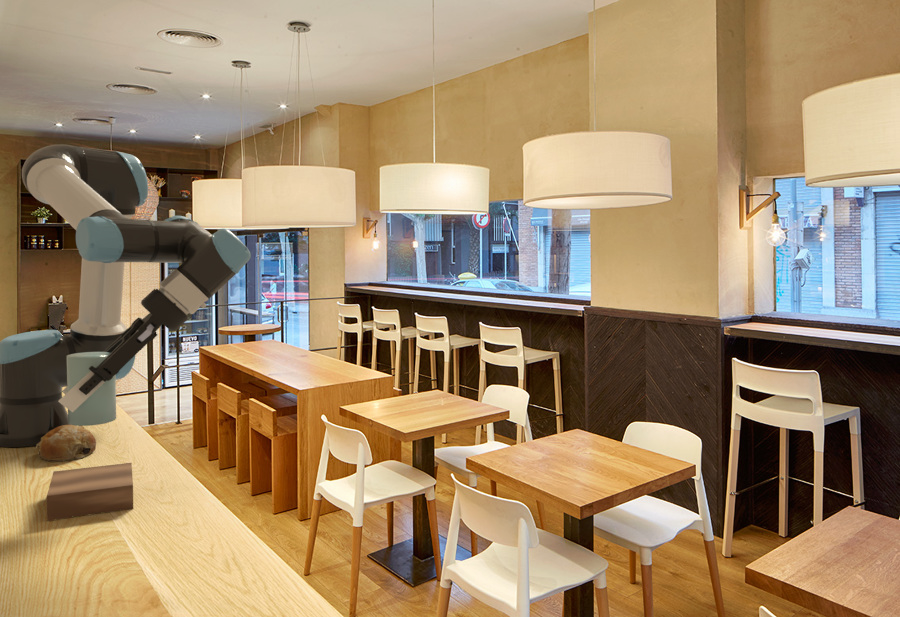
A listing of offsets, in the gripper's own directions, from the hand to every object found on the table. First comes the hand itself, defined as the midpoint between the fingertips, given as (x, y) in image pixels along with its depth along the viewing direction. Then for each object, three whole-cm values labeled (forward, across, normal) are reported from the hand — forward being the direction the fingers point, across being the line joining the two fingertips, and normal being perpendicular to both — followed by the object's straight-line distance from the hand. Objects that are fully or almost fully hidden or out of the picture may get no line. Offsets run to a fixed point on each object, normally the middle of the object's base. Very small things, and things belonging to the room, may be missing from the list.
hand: (67, 401), depth 103 cm
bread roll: (+14, +29, -11) cm, 34 cm away
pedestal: (+10, 0, -15) cm, 18 cm away
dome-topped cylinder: (0, 0, -5) cm, 5 cm away
